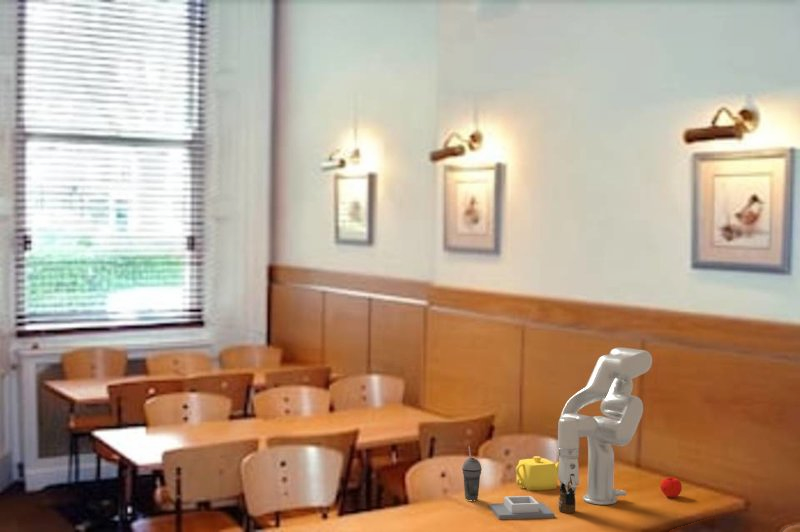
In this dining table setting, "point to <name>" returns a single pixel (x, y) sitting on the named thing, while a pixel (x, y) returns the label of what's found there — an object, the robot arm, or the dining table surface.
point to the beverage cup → (471, 477)
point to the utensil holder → (562, 503)
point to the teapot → (537, 474)
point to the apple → (671, 487)
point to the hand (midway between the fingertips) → (567, 501)
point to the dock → (521, 508)
